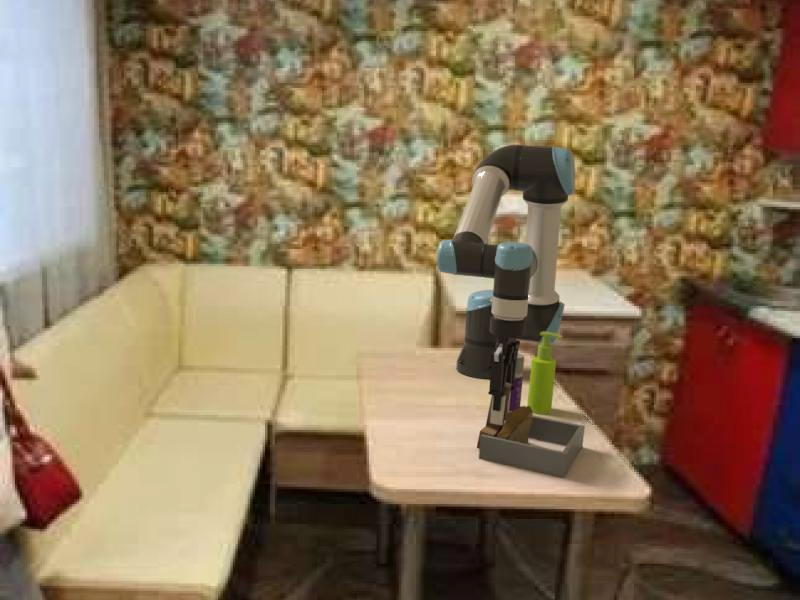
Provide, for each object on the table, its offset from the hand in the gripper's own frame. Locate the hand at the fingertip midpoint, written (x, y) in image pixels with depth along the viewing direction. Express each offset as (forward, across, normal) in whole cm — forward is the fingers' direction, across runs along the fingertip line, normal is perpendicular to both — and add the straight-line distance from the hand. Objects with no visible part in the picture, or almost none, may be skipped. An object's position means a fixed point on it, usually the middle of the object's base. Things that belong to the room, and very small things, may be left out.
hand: (499, 420), depth 172 cm
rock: (+6, 0, +3) cm, 6 cm away
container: (+6, -20, -3) cm, 21 cm away
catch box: (+6, 0, +8) cm, 10 cm away
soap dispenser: (+6, -27, +3) cm, 28 cm away
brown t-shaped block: (+5, 0, -1) cm, 6 cm away
